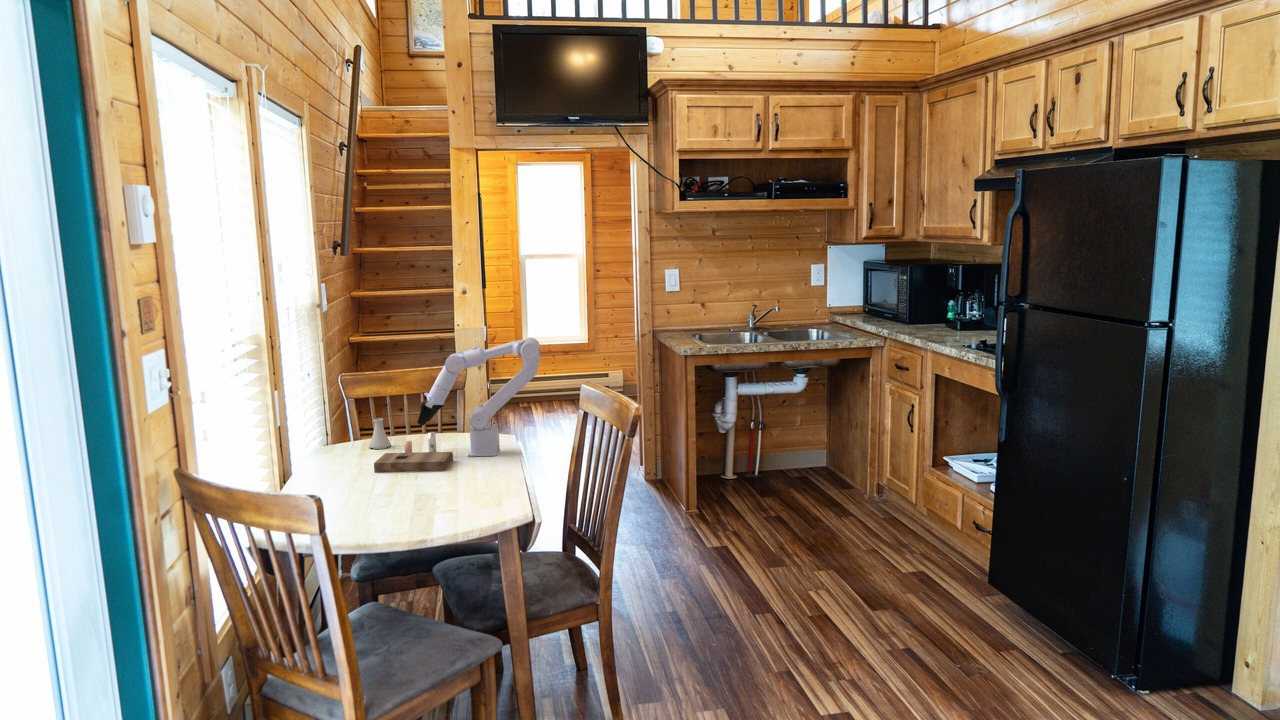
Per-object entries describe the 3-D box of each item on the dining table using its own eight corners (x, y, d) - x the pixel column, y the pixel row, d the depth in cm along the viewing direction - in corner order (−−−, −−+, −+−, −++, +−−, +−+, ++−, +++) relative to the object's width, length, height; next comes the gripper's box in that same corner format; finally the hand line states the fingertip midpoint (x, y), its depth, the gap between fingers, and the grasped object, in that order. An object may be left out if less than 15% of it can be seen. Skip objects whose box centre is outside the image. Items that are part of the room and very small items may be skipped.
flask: (365, 449, 291) (363, 421, 289) (377, 444, 297) (375, 416, 296) (383, 450, 289) (381, 422, 287) (395, 445, 295) (393, 417, 294)
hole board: (453, 460, 273) (452, 451, 273) (444, 470, 261) (444, 461, 261) (385, 462, 273) (385, 453, 273) (374, 472, 261) (373, 463, 261)
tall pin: (437, 455, 280) (436, 432, 279) (435, 457, 278) (434, 433, 277) (430, 455, 280) (429, 432, 279) (428, 457, 278) (427, 433, 277)
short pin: (413, 453, 283) (412, 440, 283) (411, 455, 281) (410, 442, 280) (406, 453, 283) (405, 440, 283) (404, 455, 281) (403, 442, 280)
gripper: (436, 378, 284) (418, 412, 285) (426, 384, 269) (406, 420, 270) (454, 388, 284) (436, 422, 285) (445, 394, 270) (426, 430, 271)
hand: (423, 422), depth 278 cm, fingers open, 7 cm apart
